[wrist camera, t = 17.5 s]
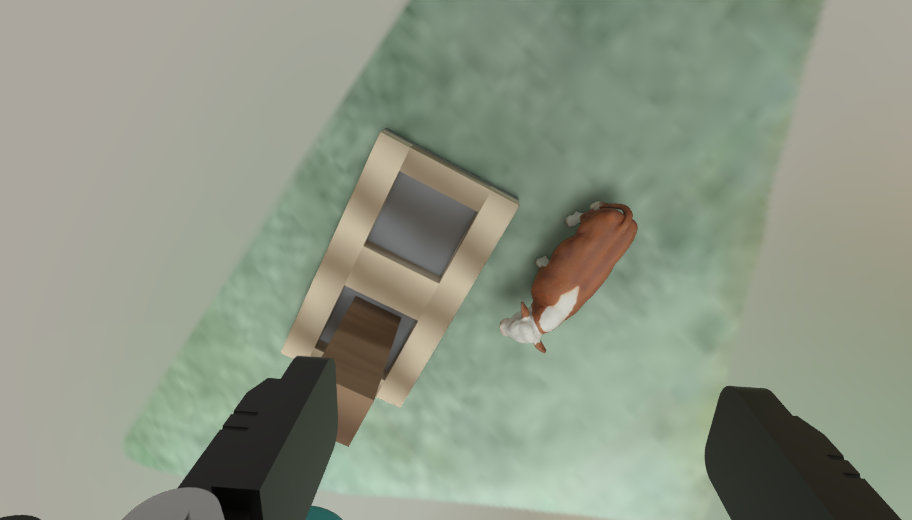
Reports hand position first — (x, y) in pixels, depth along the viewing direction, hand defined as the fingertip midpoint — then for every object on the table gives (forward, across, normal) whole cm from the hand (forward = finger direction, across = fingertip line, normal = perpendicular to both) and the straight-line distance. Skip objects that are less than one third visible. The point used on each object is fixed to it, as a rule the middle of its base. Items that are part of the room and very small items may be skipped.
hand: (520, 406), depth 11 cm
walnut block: (+31, +10, +16) cm, 37 cm away
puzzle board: (+32, +8, +11) cm, 35 cm away
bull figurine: (+32, -6, +8) cm, 34 cm away
